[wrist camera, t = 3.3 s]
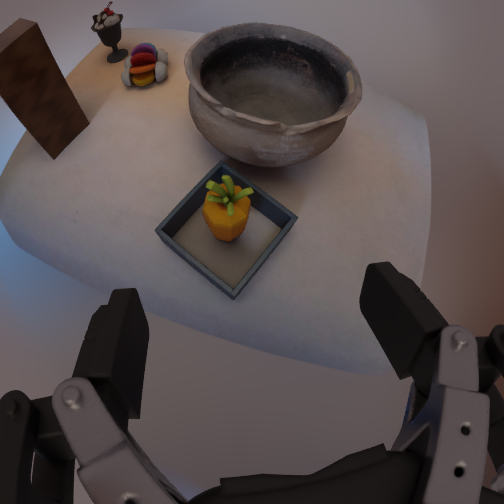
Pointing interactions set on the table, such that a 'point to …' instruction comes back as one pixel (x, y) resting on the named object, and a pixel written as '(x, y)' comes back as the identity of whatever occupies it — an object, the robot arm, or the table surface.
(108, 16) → the sundae
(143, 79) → the rainbow cloud toy
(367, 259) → the table surface
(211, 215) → the carrot
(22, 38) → the block
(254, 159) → the ceramic bowl
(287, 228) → the square storage tray
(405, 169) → the table surface
